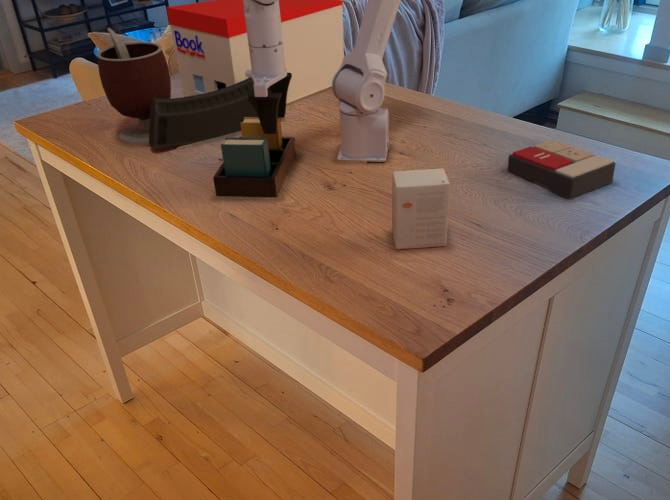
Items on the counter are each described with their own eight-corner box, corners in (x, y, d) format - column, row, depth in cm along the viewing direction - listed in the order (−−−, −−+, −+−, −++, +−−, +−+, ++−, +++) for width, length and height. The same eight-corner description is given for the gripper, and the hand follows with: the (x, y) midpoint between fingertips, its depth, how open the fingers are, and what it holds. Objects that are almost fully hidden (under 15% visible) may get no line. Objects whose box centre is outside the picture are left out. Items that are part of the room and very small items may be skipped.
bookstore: (183, 103, 158) (165, 7, 144) (288, 67, 177) (281, -21, 163) (239, 122, 146) (225, 19, 133) (345, 81, 165) (342, -13, 152)
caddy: (296, 156, 130) (294, 137, 128) (277, 199, 116) (274, 178, 114) (242, 156, 132) (239, 136, 129) (216, 198, 118) (212, 177, 115)
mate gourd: (192, 134, 142) (173, 34, 129) (133, 152, 136) (107, 48, 123) (159, 116, 152) (139, 21, 139) (103, 132, 145) (76, 34, 133)
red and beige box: (551, 136, 123) (617, 158, 112) (548, 159, 125) (613, 182, 115) (508, 151, 119) (572, 175, 108) (505, 174, 121) (568, 199, 111)
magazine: (132, 113, 127) (260, 38, 132) (127, 108, 129) (253, 35, 135) (174, 185, 140) (289, 114, 145) (168, 180, 142) (282, 110, 147)
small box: (441, 229, 105) (445, 167, 99) (446, 247, 101) (451, 183, 94) (391, 232, 105) (391, 170, 99) (394, 250, 101) (395, 186, 94)
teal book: (272, 183, 120) (267, 137, 114) (268, 191, 117) (263, 145, 112) (232, 182, 121) (225, 137, 115) (228, 190, 118) (220, 144, 113)
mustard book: (284, 158, 129) (280, 117, 124) (281, 164, 127) (276, 123, 121) (249, 157, 130) (244, 117, 125) (245, 163, 127) (240, 122, 122)
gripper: (252, 32, 114) (261, 110, 123) (231, 56, 104) (243, 140, 112) (291, 31, 114) (298, 110, 122) (274, 55, 103) (283, 140, 111)
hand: (274, 124), depth 117 cm, fingers open, 7 cm apart
